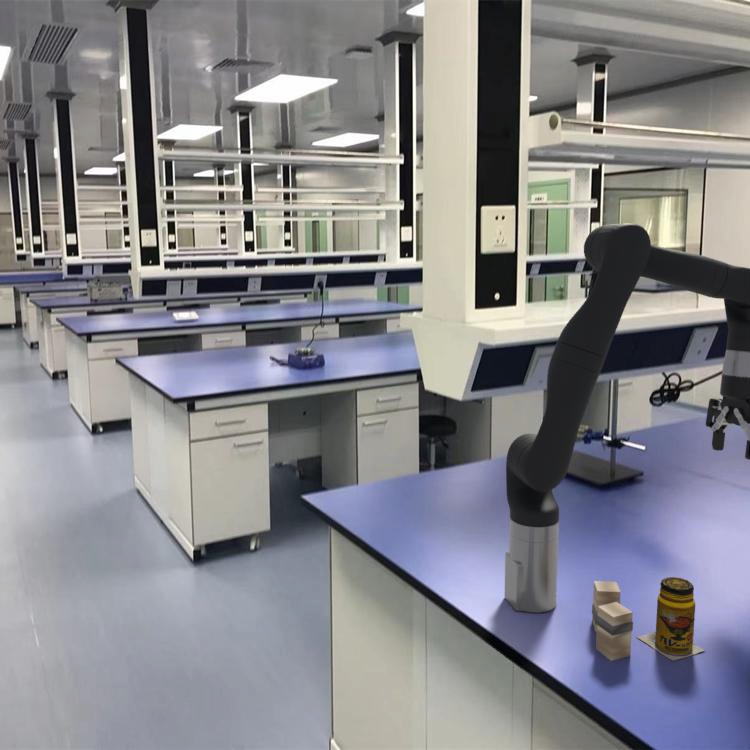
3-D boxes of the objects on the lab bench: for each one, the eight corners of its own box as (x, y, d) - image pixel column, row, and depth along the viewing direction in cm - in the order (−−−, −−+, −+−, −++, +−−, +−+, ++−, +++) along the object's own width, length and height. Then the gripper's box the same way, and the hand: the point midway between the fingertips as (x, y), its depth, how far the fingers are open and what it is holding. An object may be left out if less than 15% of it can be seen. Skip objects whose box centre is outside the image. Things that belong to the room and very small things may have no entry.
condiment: (673, 662, 124) (677, 595, 122) (636, 637, 132) (639, 574, 130) (705, 651, 127) (709, 586, 125) (667, 628, 135) (671, 567, 133)
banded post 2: (611, 661, 124) (613, 617, 123) (595, 648, 128) (596, 606, 127) (631, 656, 126) (633, 612, 125) (614, 643, 130) (616, 601, 128)
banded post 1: (595, 632, 134) (596, 591, 132) (591, 620, 138) (593, 580, 136) (619, 633, 133) (621, 592, 132) (614, 622, 137) (616, 581, 136)
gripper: (701, 369, 152) (693, 447, 153) (757, 377, 138) (747, 462, 140) (730, 371, 154) (721, 447, 156) (787, 378, 141) (777, 462, 142)
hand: (733, 454), depth 148 cm, fingers open, 8 cm apart
